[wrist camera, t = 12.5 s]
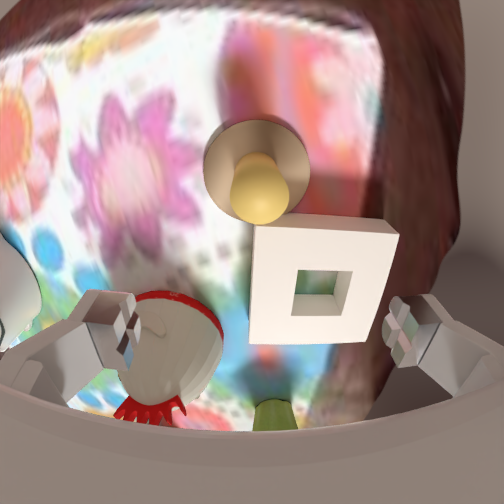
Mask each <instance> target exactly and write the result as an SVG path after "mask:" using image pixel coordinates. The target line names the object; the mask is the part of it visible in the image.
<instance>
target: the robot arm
mask: <svg viewBox="0 0 504 504" xmlns="http://www.w3.org/2000/svg"><path fill="white" fill-rule="evenodd" d="M41 304H42V302H41V294H40V290H39V286H38V284H37V281H36V279H35V276H34V274H33V272H32V271H31V269H30V267H29V266H28V264H27V263H26V261H25V260H24V258H23V257H22V256H21V255H20V254H19V252H18V251H17V250H16V249H15V248H14V247H12V246H11V245H10V244H9V243H8V242H7V241H6V240H5V239H4V238H3V236H2V235H1V233H0V352H3V351H5V350H6V349H7V348H8V347H9V346H10V345H11V343H12V342H13V341H14V340H15V339H16V338H17V337H18V336H19V335H20V334H21V332H22V331H23V330H24V331H28V330H29V329H30V328H31V327H32V320H33V319H34V318H35V317H36V316H37V315H38V314H39V312H40V310H41ZM136 305H137V304H136V300H135V296H134V295H133V294H132V293H128V292H117V291H107V290H96V289H89V290H87V291H86V292H85V294H84V295H83V297H82V298H81V299H80V301H79V302H78V304H77V305H76V307H75V308H74V310H73V311H72V313H71V314H70V316H69V317H68V319H67V320H64V319H62V320H61V321H59V322H57V323H55V324H53V325H52V326H50V327H48V328H46V329H44V330H43V331H41V332H39V333H37V334H35V335H34V336H32V337H30V338H28V339H27V340H25V341H23V342H21V343H20V344H18V345H16V346H14V347H13V348H11V349H9V350H8V351H6V353H5V354H4V356H3V357H2V359H1V360H0V504H504V347H503V346H501V345H500V344H498V343H496V342H494V341H493V340H491V339H489V338H487V337H486V336H484V335H482V334H480V333H478V332H477V331H475V330H473V329H471V328H469V327H468V326H465V325H464V324H462V323H460V322H459V321H454V320H453V319H452V318H451V316H450V315H449V314H448V313H447V311H446V310H445V309H444V308H443V307H442V305H441V304H440V303H439V302H438V300H437V299H436V298H435V297H434V296H433V295H431V294H423V295H416V296H399V297H394V298H393V299H392V300H391V303H390V305H389V309H390V311H391V312H390V313H389V314H388V315H387V316H386V317H385V319H384V322H383V325H382V336H383V340H384V342H385V344H386V345H387V346H389V347H390V348H392V351H391V355H392V357H393V359H394V361H395V363H396V365H397V367H398V368H402V367H409V366H415V365H418V367H420V368H421V369H422V370H423V371H424V372H426V373H427V374H428V375H429V376H430V377H432V378H433V379H434V380H435V381H436V382H437V383H439V384H440V385H441V386H442V387H443V388H444V389H446V390H447V391H448V392H449V393H450V394H451V395H453V396H454V397H453V398H452V399H450V400H446V401H443V402H440V403H437V404H434V405H430V406H427V407H423V408H420V409H416V410H412V411H408V412H404V413H400V414H396V415H391V416H387V417H382V418H377V419H372V420H367V421H361V422H355V423H349V424H342V425H335V426H327V427H319V428H309V429H297V430H282V431H211V430H195V429H183V428H173V427H164V426H157V425H149V424H143V423H137V422H131V421H125V420H120V419H115V418H110V417H105V416H100V415H96V414H92V413H88V412H84V411H80V410H76V409H72V408H69V406H68V405H67V402H68V401H69V400H70V399H71V398H72V397H73V396H75V395H76V394H77V393H78V392H79V391H80V390H81V389H82V388H83V387H85V386H86V385H87V384H88V383H89V382H90V381H91V380H92V379H93V378H95V377H96V376H97V375H98V374H99V373H100V372H101V371H102V370H103V368H107V369H115V370H123V371H129V368H130V365H131V362H132V360H133V357H134V354H133V350H132V349H133V348H134V347H135V346H137V345H138V342H139V339H140V332H141V324H140V318H139V315H138V314H137V313H136V312H135V311H134V309H135V307H136Z"/></svg>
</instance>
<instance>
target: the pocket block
mask: <svg viewBox="0 0 504 504" xmlns="http://www.w3.org/2000/svg"><path fill="white" fill-rule="evenodd" d="M398 238H399V233H397V232H396V231H395V230H394V229H393V228H392V227H391V226H390V225H389V224H388V223H387V222H386V221H385V220H384V219H372V218H360V217H347V216H334V215H319V214H303V213H287V214H282V215H281V216H280V217H279V218H277V219H276V220H274V221H273V222H270V223H267V224H254V233H253V251H252V269H251V288H250V306H249V344H327V343H349V342H365V341H366V339H367V336H368V334H369V331H370V328H371V325H372V323H373V320H374V317H375V314H376V312H377V309H378V306H379V303H380V300H381V297H382V294H383V291H384V287H385V284H386V281H387V278H388V275H389V271H390V268H391V264H392V261H393V257H394V254H395V250H396V246H397V242H398ZM298 270H325V271H338V274H337V279H336V283H335V288H334V292H333V295H319V294H294V293H295V287H296V280H297V273H298Z"/></svg>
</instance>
